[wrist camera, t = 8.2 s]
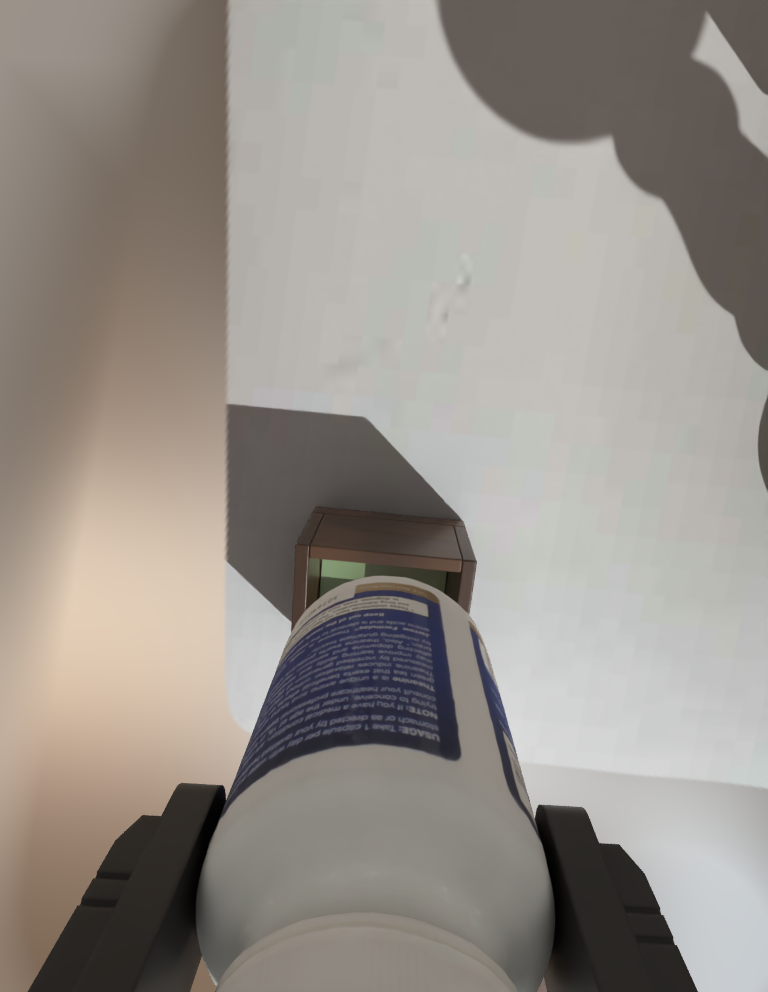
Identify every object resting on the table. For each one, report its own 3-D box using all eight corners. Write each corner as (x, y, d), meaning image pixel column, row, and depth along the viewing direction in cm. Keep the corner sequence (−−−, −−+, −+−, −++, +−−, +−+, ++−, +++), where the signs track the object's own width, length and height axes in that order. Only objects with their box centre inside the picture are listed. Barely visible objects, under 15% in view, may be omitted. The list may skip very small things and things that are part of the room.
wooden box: (307, 638, 31) (287, 700, 25) (315, 506, 29) (295, 543, 23) (445, 652, 31) (454, 717, 25) (463, 520, 29) (477, 561, 23)
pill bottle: (248, 679, 15) (3, 1216, 6) (362, 529, 14) (280, 906, 5) (407, 780, 16) (414, 1401, 7) (529, 645, 15) (751, 1176, 5)
